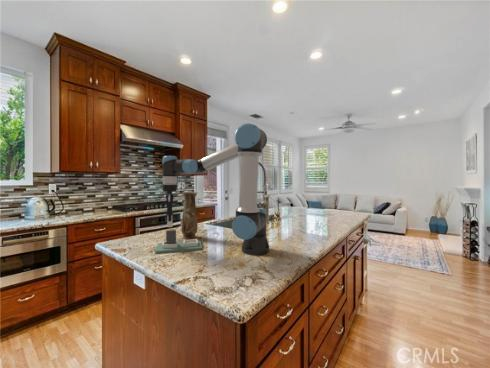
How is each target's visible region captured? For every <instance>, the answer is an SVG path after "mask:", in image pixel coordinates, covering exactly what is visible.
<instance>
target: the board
mask: <svg viewBox="0 0 490 368" xmlns="http://www.w3.org/2000/svg"><path fill="white" fill-rule="evenodd" d="M202 250H203V246H202V242H201V240H198V238H194V239H183V241H178V239H176V244H166V240H163V242H160V243H157V245H156V249H155V252H154V253H155V254H165V253H166V254H167V253H176V252H177V253H179V252H181V253H182V252H190V251H193V252H194V251H202Z"/></svg>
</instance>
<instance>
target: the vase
mask: <svg viewBox="0 0 490 368" xmlns="http://www.w3.org/2000/svg"><path fill="white" fill-rule="evenodd" d="M198 193H199V192H198V191H197V192H196V191H182V195H183V197H184V206H183V210H182V211H183V212H182V216H181V217H182V218H181V226H180V230H181V233H182V235H183V236H182V240H193V239H197V236H196V234H197V232H198V219H197V218H198V217H197V204H196V198H197V197H196V196H197V195H198Z"/></svg>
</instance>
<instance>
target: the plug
mask: <svg viewBox="0 0 490 368" xmlns="http://www.w3.org/2000/svg"><path fill="white" fill-rule="evenodd" d="M165 236H166V237H165V241H166V244H176V241H177V228H171V229H168V228H167V229H166V231H165Z"/></svg>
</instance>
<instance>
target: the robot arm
mask: <svg viewBox="0 0 490 368" xmlns="http://www.w3.org/2000/svg"><path fill="white" fill-rule="evenodd" d="M234 142H235V143H233V144H231V145H229V146H226V147H225V148H222V149H220V150H218V151H215V152H213V153H210V154H208V155H207V156H204V157H203V158H200V159H198V160H195V159H190V158H189V159H188V158H186V159H178V157H177V156H175V155H164V156H162V163H161V165H162V178H161V180H162V192H166V194H165V198H166V199H165V200H166V201H165V202H166V214H165V216H166V221H167V223H166V227H167V228H173V222H174V221H173V215H174V214H175V213H174V211H173V203H174V198H175V196H174V194H173V192H177V191H178V174H182V175H183V174H185V175H186V174H188V175H189V174H190V175H191V174H194V175H202V174H205V173H207V171H209V170H211V169H214V168H216V167H218V166H221V165H223V164H225V163H228V162H230V161H234V160H235V159H238V158H240V165H239V166H240V167H239V169H240V171H239V192H238V193H239V197H238V198H239V199H238V207H237V208H235V218H234V219H233V221H232V223H231V230H232V232H233V234H234V235H235V236H236V237H237V238H238V239H240V240H243V241H242V243H241V252H243V254H246V255H252V256H261V255H266V254H269V252H270V244H269V241H268V237H267V220H268V219H267V216H268V215H267V210H266V209H265V208H259V207H258V184H259V183H258V180H259V179H258V178H259V158H260V156H262V154H263V149H264V148H265V147H266V146H267V143H268V137H267V134H266V132H265V131H264V130H263V129H261V128H259V127H258V126H257V125H255V124H254V123H249V122H247V123H243V124H241V125H240V126H239V127H238V128H237V129H236V130H235V133H234Z"/></svg>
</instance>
